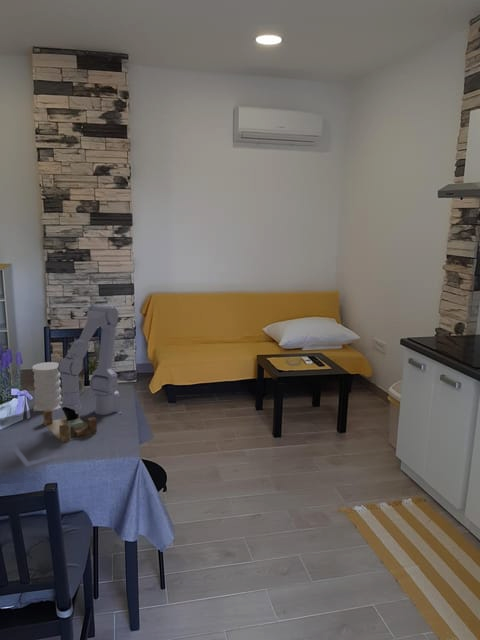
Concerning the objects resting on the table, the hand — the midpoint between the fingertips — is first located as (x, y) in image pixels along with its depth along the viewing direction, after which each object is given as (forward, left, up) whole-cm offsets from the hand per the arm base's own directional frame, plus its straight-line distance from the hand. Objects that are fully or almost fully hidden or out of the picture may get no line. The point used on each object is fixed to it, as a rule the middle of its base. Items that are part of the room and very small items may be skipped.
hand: (72, 426), depth 181 cm
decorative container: (-1, -27, -2) cm, 27 cm away
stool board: (0, -1, -2) cm, 3 cm away
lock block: (0, +3, -1) cm, 4 cm away
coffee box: (-15, -37, -2) cm, 40 cm away
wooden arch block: (-2, +7, -1) cm, 8 cm away
